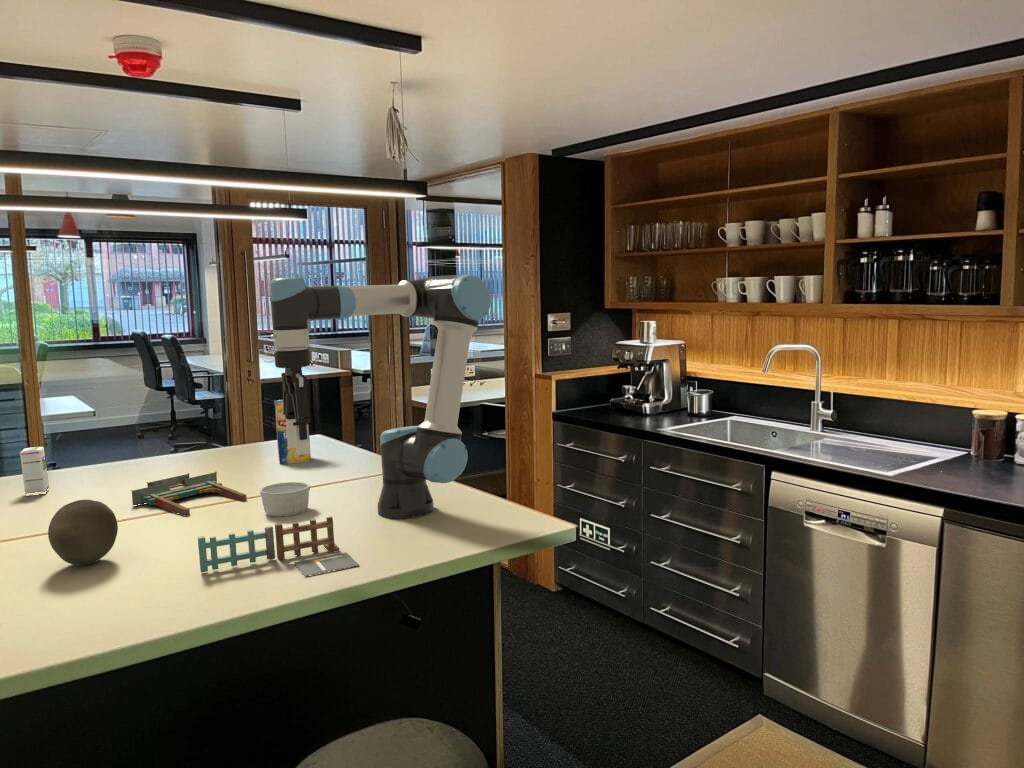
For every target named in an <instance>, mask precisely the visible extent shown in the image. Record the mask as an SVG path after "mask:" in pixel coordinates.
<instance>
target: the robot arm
mask: <svg viewBox="0 0 1024 768" xmlns="http://www.w3.org/2000/svg"><path fill="white" fill-rule="evenodd" d="M269 286H270V287H269V291H270V292H269V301H270V306H271V307H270V308H271V309H270V310H271V321H272V333H273V334H271V335H270V339H271V340H273V347H274V348H275V349H276V350H275V351H274V365H275V367H276V368H278V369H284V372H281V382H282V383H281V384H282V400H283V414H284V415H285V418H286V419H288V420H286V426H287V440H288V448H296V450H297V455H302V454H309V453H311V444H310V445H309V438H310V429H309V430H308V423H309V424H310V423H311V421H312V420H311V412H310V404H309V403H310V401H309V393H308V378H307V376H305V374H303V370H302V368H303V367H304V368H306V367H309V366H310V365H311V350H309V348H308V347H310V333H309V332H310V330H309V321H321V320H327V321H328V320H342V319H349V318H351V317H354V316H357V317H358V316H359V317H360V316H375V315H376V316H377V315H393V314H394V315H395V314H397V315H398V314H399V315H401V317H405V318H407V317H408V318H409V317H418V318H425V319H433V324H434V325H435V327H436V328H437V337H436V343H435V350H434V356H433V363H432V368H431V369H432V370H431V375H430V382H429V389H428V396H427V401H426V402H427V403H426V409H425V414H424V415H425V416H424V421H422V422H421V423H420V424H418V425H410V426H401V427H395V428H391V429H387V430H384V431H383V432H381V434H380V444H379V446H380V455H381V457H380V458H381V472H382V473H381V474H382V488H381V491H380V495H379V498H378V503H377V514H378V515H379V516H381V517H383V518H384V517H385V518H388V519H389V518H390V519H410V518H417V517H418V518H419V517H422V516H425V515H428V514H430V513H431V512H433V511H434V510H435V509H434V500H433V496H432V494H431V492H430V489H429V486H428V483H427V481H428V482H430V483H436V484H437V483H439V484H440V483H441V484H448V483H451V482H453V481H455V480H457V478H458V477H460V475H462V473H463V472H464V470H465V469H466V466H467V463H468V459H469V458H468V455H469V454H468V450H467V448H466V445H465V444H464V442H462V435H463V434H462V433H463V432H462V431H461V429H460V428H459V426H458V424H459V422H458V421H459V414H460V409H461V402H462V397H463V389H464V383H465V377H466V376H465V375H466V371H467V363H468V357H469V356H468V355H469V350H470V341H471V336H472V334H474V333H475V332H476V331H477V330H478V329H479V322H480V321H481V320H482V319H484V318H485V317H486V315H488V314H489V312H490V308H491V305H492V303H491V302H492V301H491V298H492V297H491V293H490V290H489V288H488V287H487V285H486V283H485V281H483V280H482V279H481V277H479V276H476V275H474V274H464V273H460V274H453V275H452V274H451V275H435V276H434V275H433V276H428V277H424V278H418V279H409V280H401V281H399V283H397V284H379V285H378V284H371V285H370V284H369V285H322V286H307V284H306V281H305V278H302V277H287V278H285V277H283V278H281V277H280V278H273V279H272V280H271V281H270V285H269ZM301 417H304V418H301Z"/></svg>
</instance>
